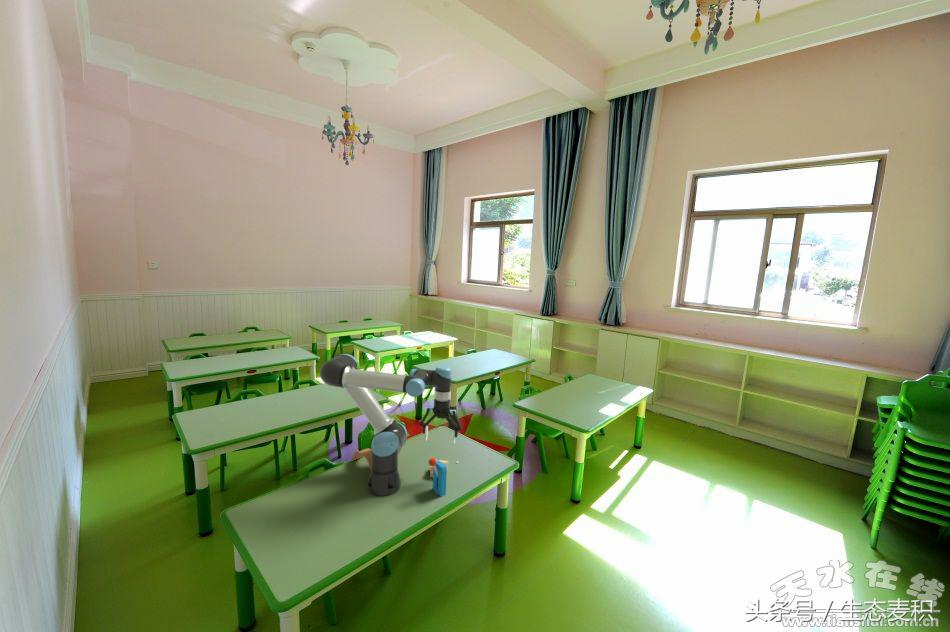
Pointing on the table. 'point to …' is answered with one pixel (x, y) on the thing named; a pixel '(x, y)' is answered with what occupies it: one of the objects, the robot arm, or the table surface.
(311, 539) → the table surface
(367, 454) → the arch
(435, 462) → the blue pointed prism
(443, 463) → the oak block
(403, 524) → the table surface
